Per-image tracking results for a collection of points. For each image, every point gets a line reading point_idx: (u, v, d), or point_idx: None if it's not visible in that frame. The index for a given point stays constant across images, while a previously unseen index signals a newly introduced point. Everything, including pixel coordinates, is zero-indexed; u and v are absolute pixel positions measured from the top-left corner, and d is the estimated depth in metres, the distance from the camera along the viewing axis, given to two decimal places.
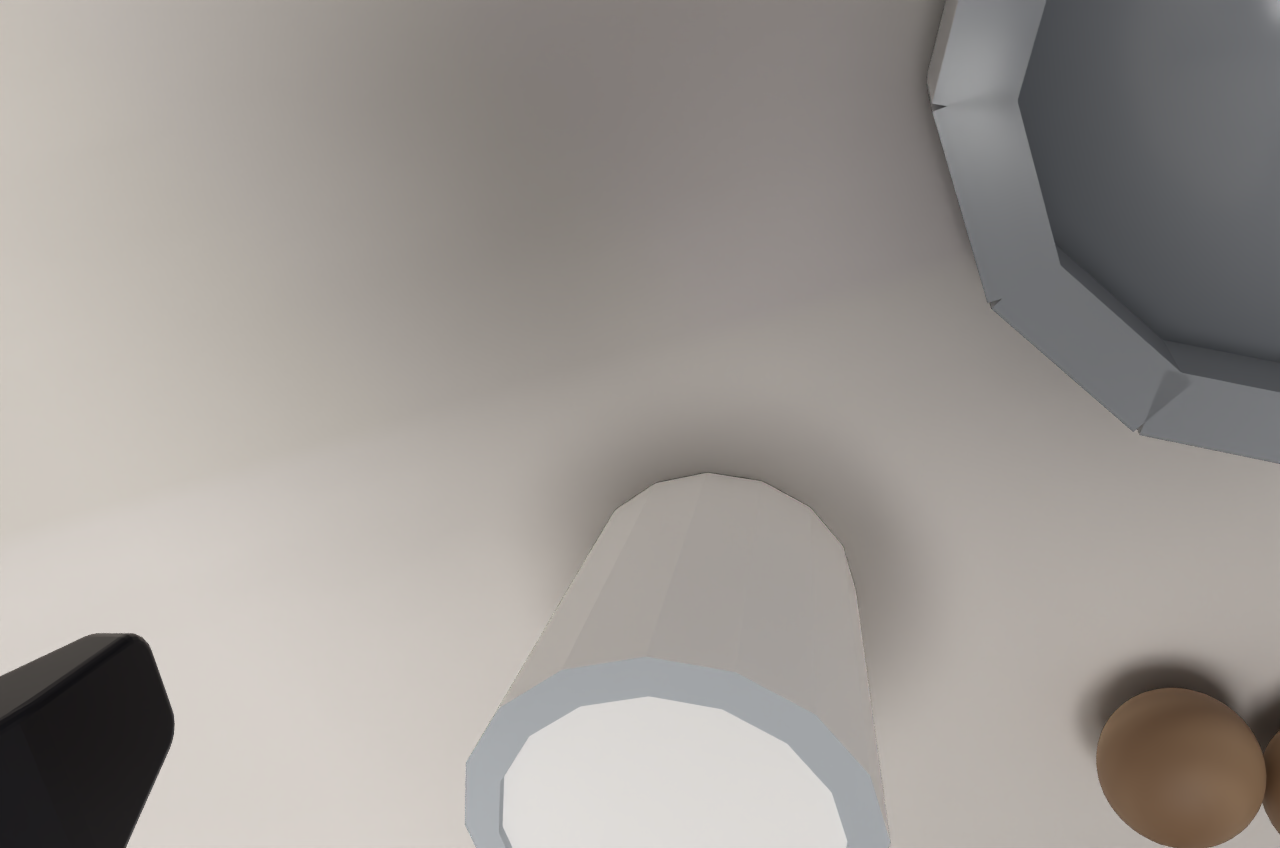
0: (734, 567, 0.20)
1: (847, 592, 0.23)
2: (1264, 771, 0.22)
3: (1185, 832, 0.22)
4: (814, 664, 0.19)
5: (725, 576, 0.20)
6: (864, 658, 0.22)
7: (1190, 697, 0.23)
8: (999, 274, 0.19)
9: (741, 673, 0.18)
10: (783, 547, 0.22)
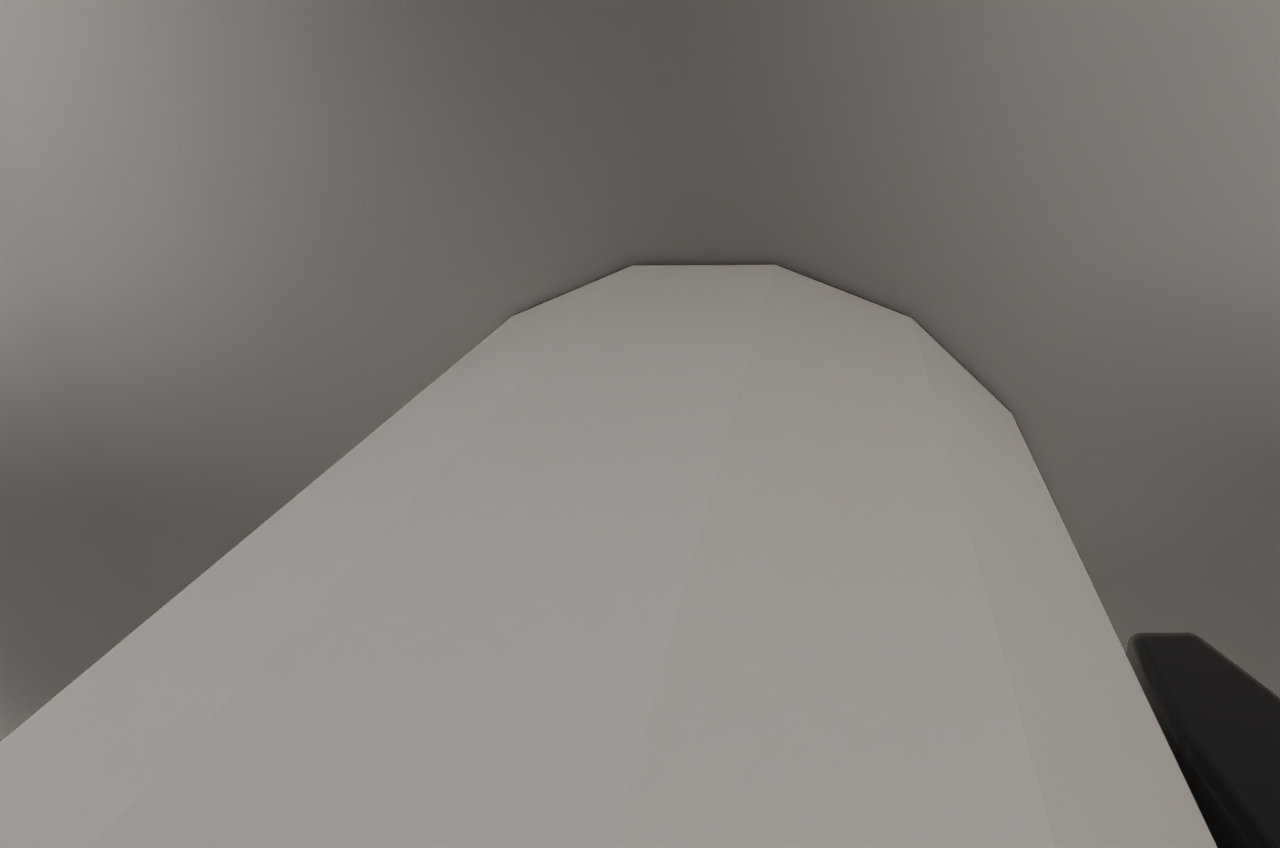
0: None
1: (568, 331, 0.08)
2: None
3: None
4: (45, 711, 0.05)
5: None
6: (727, 358, 0.07)
7: None
8: None
9: None
10: None
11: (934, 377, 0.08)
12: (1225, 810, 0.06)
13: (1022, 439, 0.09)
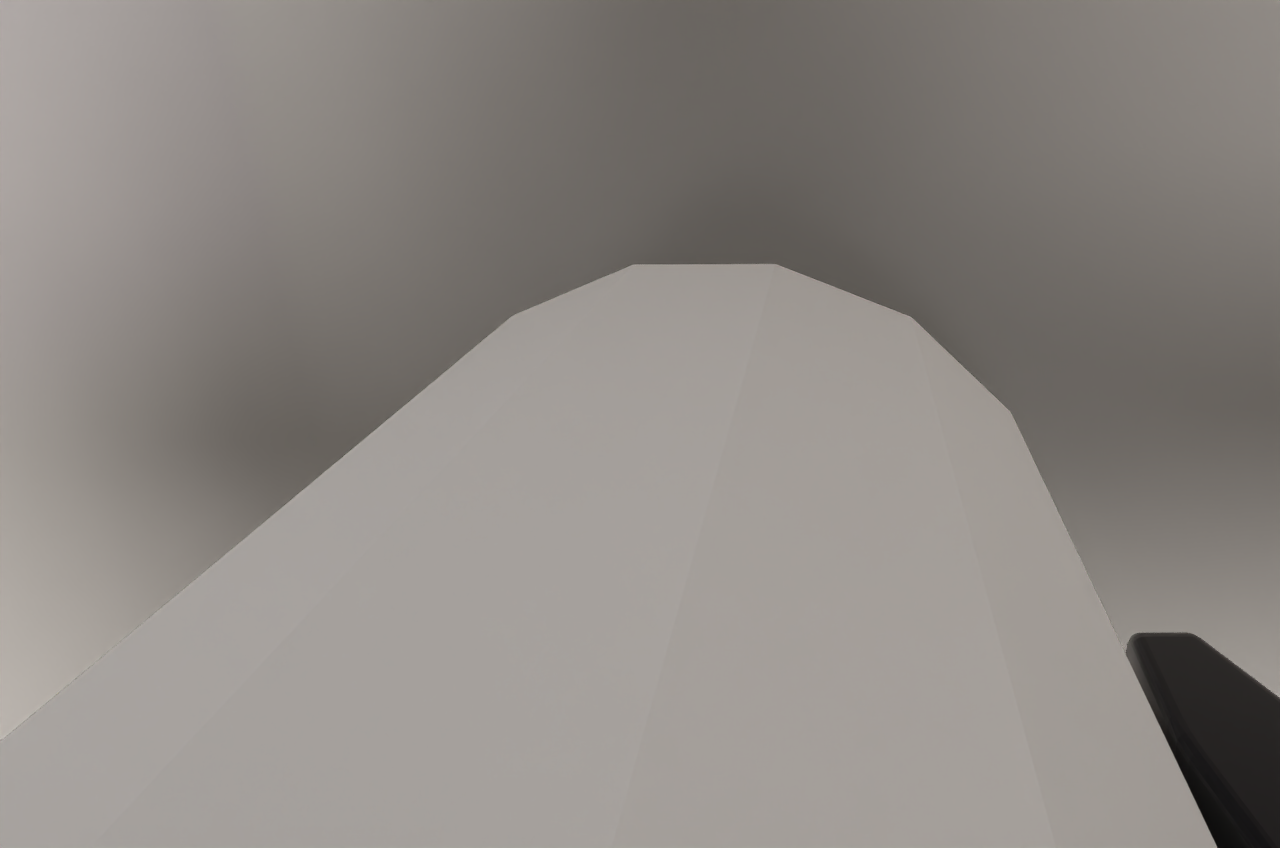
0: None
1: (569, 329, 0.08)
2: None
3: None
4: (50, 706, 0.05)
5: None
6: (727, 357, 0.07)
7: None
8: None
9: None
10: None
11: (933, 376, 0.08)
12: (1224, 811, 0.06)
13: (1021, 437, 0.09)
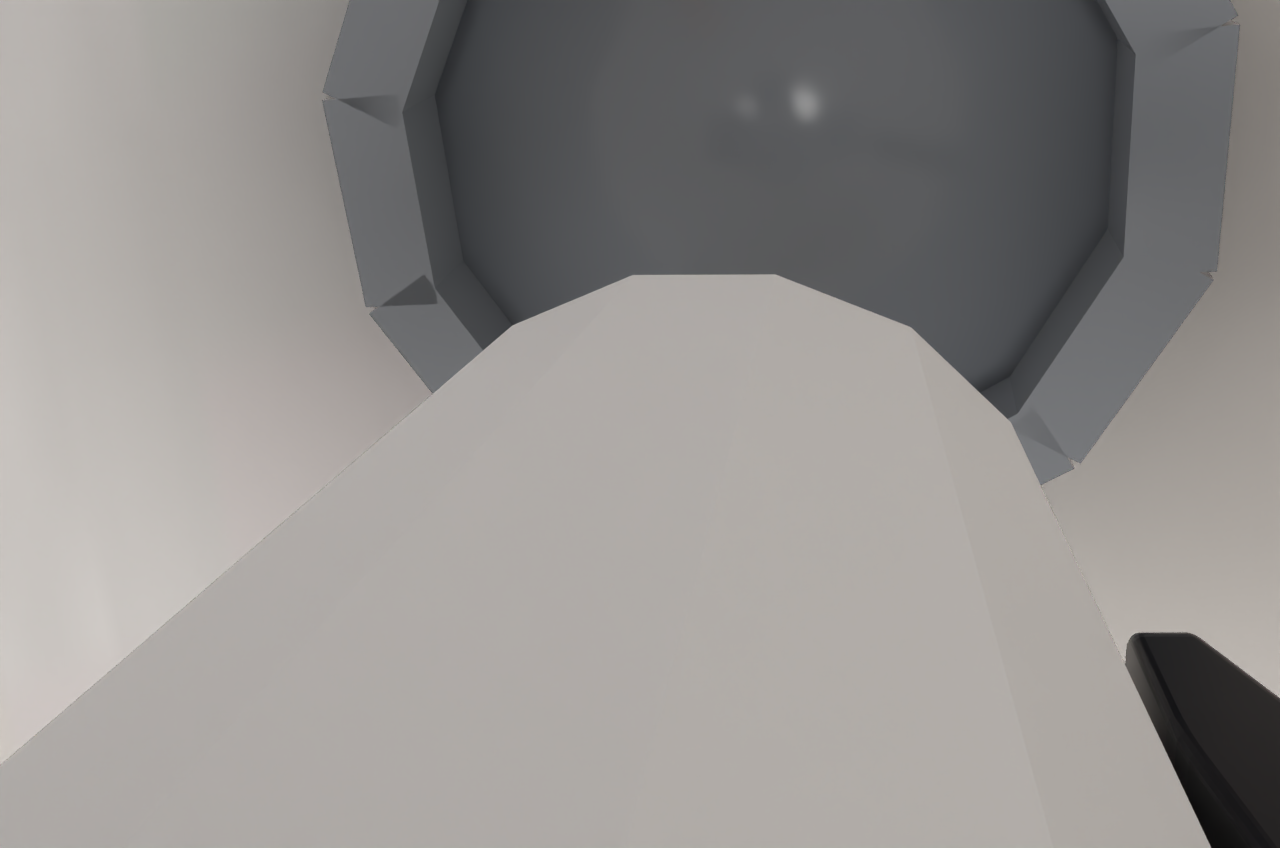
0: None
1: (569, 342, 0.08)
2: None
3: None
4: (51, 728, 0.05)
5: None
6: (728, 371, 0.07)
7: None
8: None
9: None
10: None
11: (934, 388, 0.08)
12: (1225, 810, 0.06)
13: (1021, 449, 0.09)
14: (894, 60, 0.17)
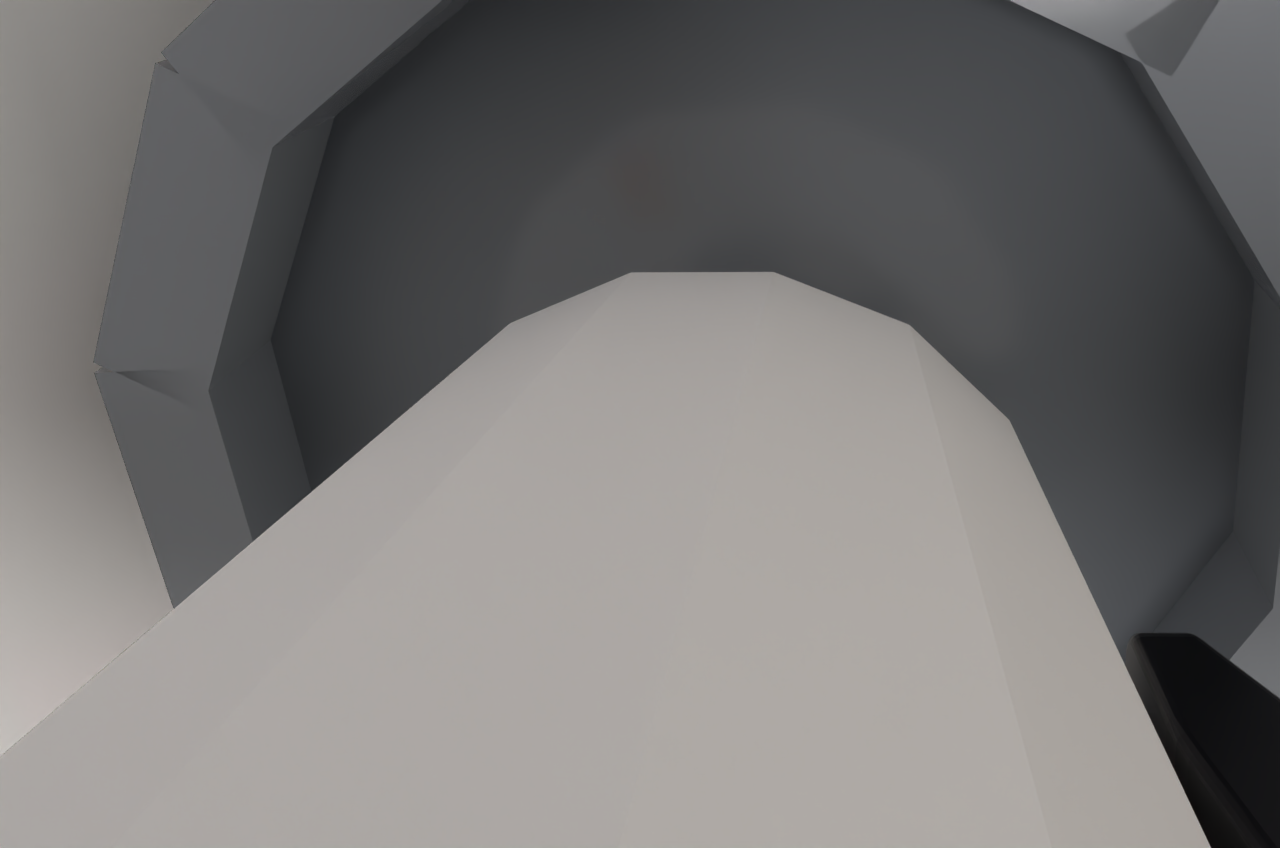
0: None
1: (566, 339, 0.08)
2: None
3: None
4: (45, 725, 0.05)
5: None
6: (725, 367, 0.07)
7: None
8: None
9: None
10: None
11: (932, 385, 0.08)
12: (1224, 810, 0.06)
13: (1020, 446, 0.09)
14: (922, 304, 0.12)
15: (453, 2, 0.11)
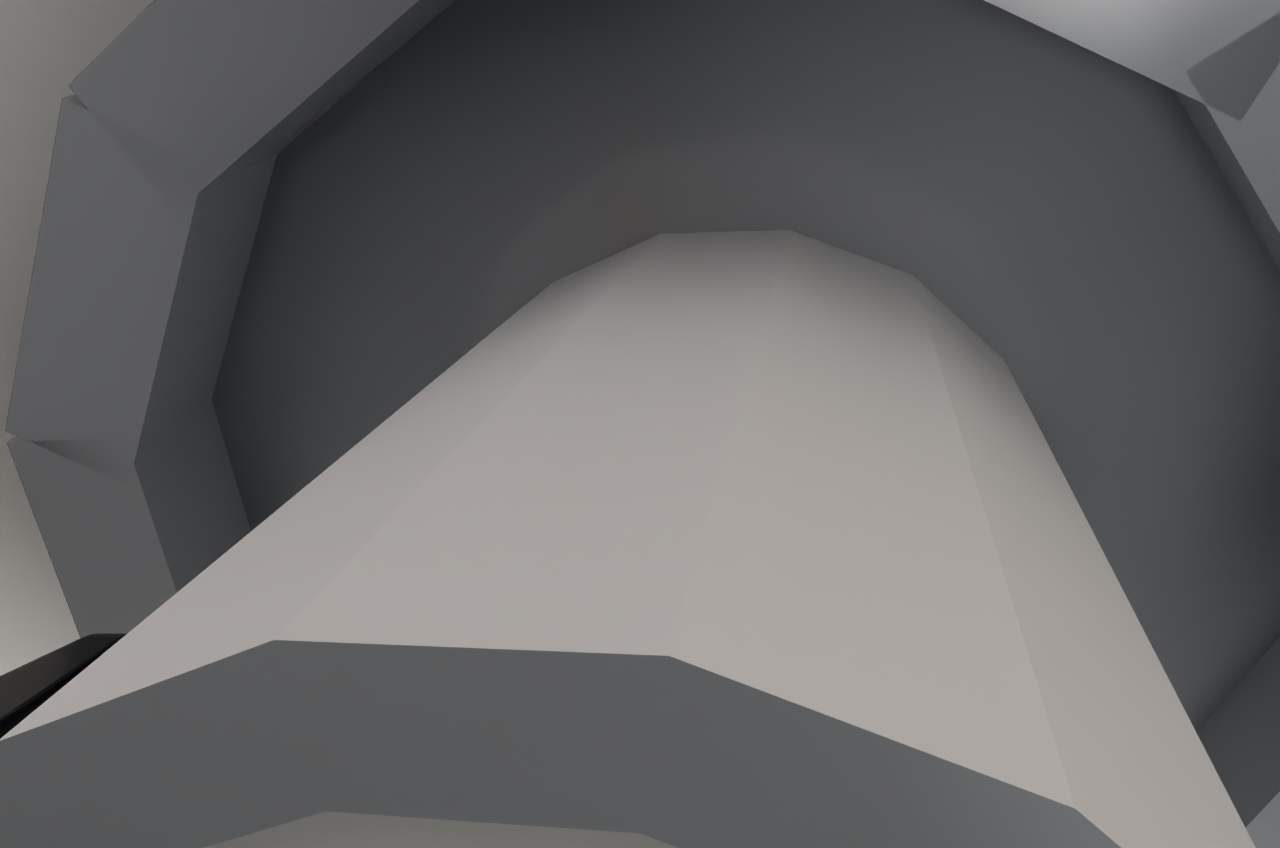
0: None
1: (608, 285, 0.09)
2: None
3: None
4: (205, 574, 0.06)
5: None
6: (750, 301, 0.08)
7: None
8: None
9: None
10: None
11: (932, 322, 0.09)
12: None
13: (1013, 379, 0.10)
14: None
15: (404, 28, 0.09)
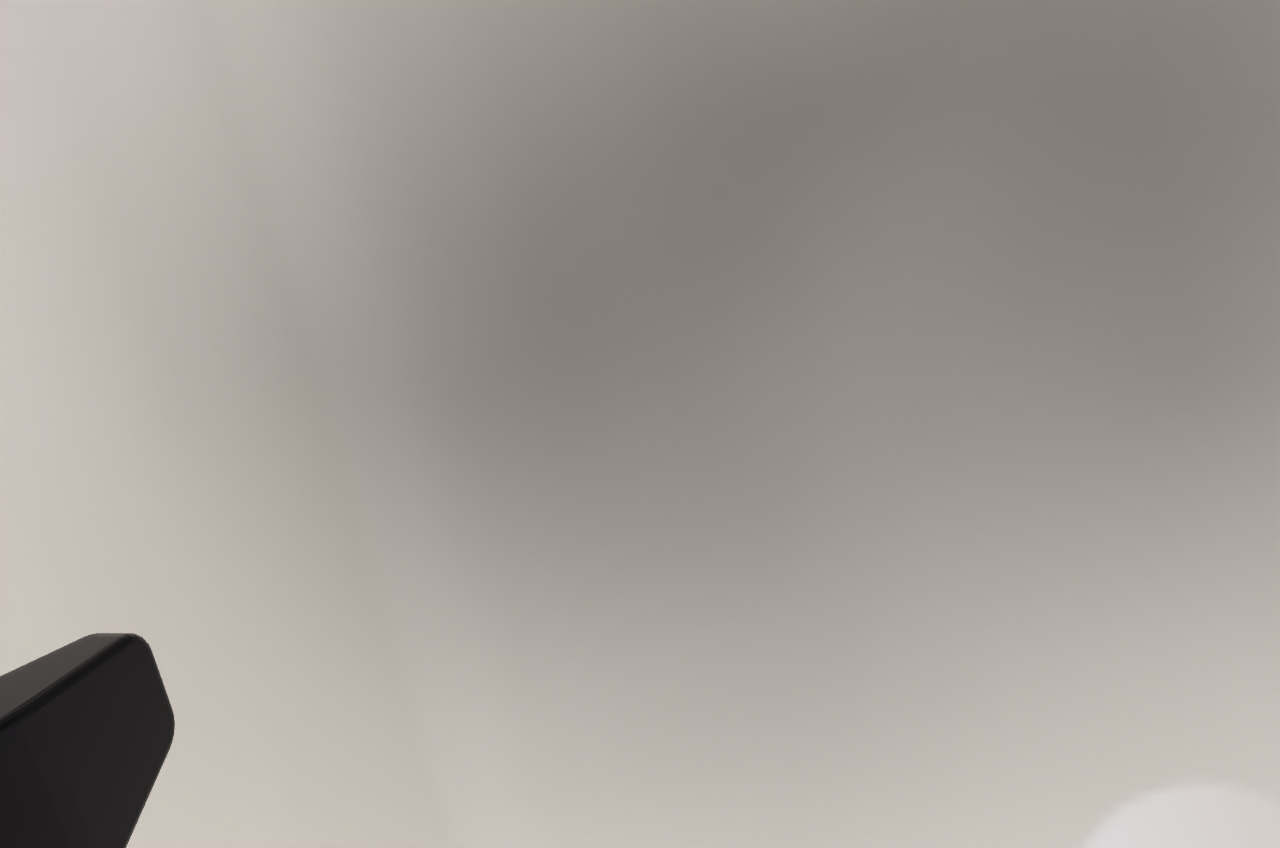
0: None
1: None
2: None
3: None
4: None
5: None
6: None
7: None
8: None
9: None
10: None
11: None
12: None
13: None
14: None
15: None
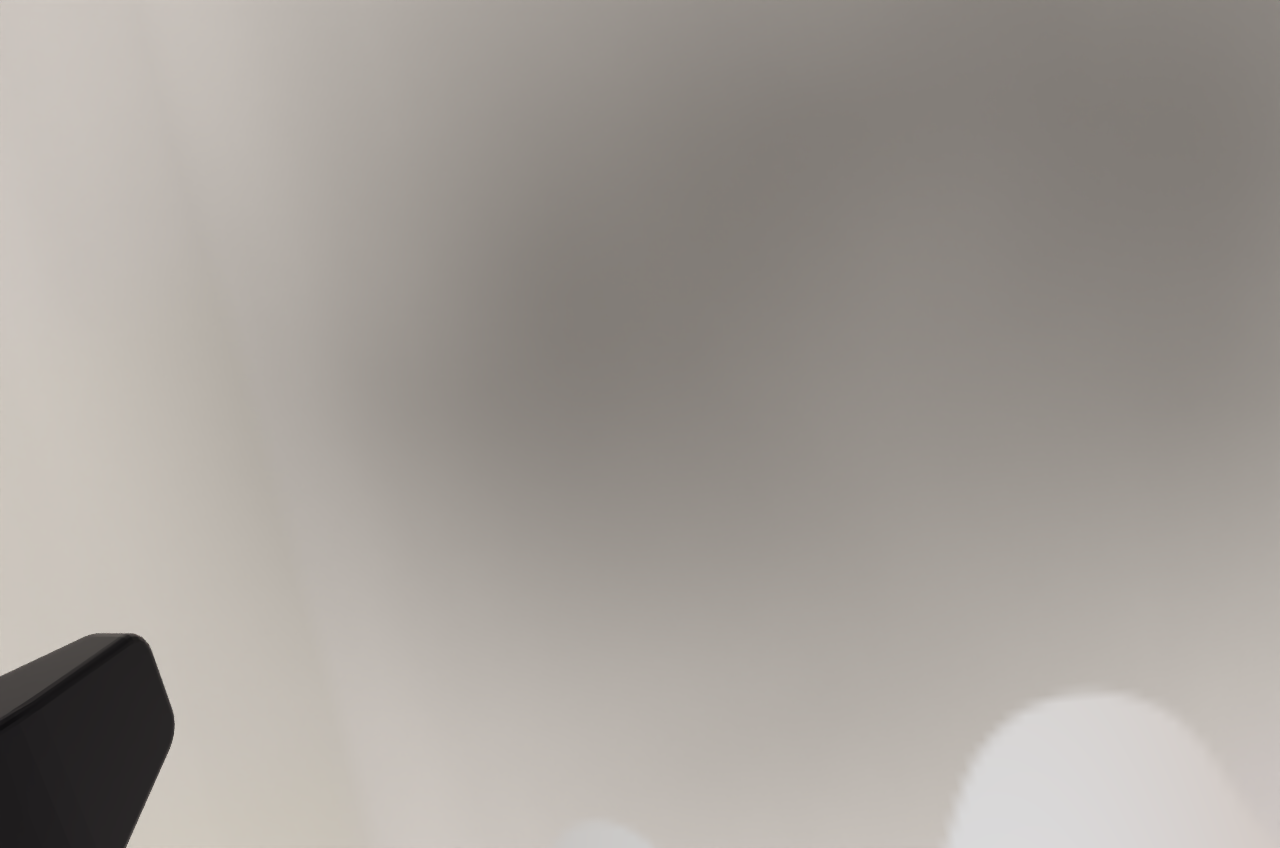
0: None
1: None
2: None
3: None
4: None
5: None
6: None
7: None
8: None
9: None
10: None
11: None
12: None
13: None
14: None
15: None
